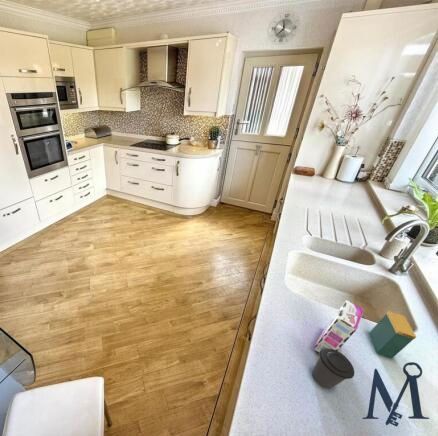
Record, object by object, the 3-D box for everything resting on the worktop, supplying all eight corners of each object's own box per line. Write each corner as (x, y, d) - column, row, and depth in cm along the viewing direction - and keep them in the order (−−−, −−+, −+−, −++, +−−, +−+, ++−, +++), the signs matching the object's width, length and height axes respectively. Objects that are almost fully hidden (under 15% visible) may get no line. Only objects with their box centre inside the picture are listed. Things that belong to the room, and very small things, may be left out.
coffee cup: (345, 394, 65) (364, 376, 60) (317, 394, 65) (334, 376, 60) (326, 364, 72) (341, 346, 67) (300, 364, 72) (314, 345, 67)
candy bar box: (329, 362, 73) (357, 330, 65) (312, 349, 76) (336, 318, 68) (339, 340, 80) (365, 309, 71) (322, 329, 83) (346, 298, 74)
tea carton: (416, 337, 69) (404, 316, 75) (398, 331, 70) (388, 311, 77) (392, 359, 75) (382, 338, 81) (376, 353, 76) (368, 333, 83)
